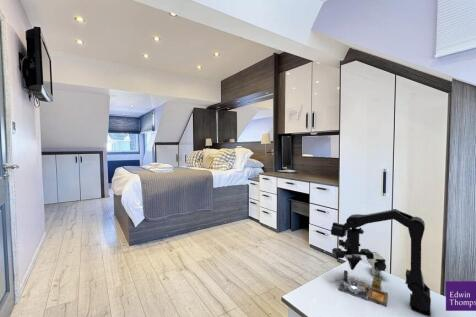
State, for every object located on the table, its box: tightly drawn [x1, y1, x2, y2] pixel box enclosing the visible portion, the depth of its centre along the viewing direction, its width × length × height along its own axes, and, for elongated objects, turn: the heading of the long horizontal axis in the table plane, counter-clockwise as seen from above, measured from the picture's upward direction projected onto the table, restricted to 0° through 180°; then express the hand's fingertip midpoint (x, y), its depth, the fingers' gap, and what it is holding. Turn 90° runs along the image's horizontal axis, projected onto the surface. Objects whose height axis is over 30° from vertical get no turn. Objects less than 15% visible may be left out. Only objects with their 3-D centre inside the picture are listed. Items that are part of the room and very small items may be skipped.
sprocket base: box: [337, 279, 370, 301], centre depth 112 cm, size 12×12×1 cm
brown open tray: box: [366, 286, 389, 307], centre depth 105 cm, size 7×9×2 cm
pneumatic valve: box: [366, 251, 387, 277], centre depth 124 cm, size 6×12×12 cm, turn 174°
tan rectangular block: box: [371, 276, 382, 291], centre depth 113 cm, size 4×5×4 cm
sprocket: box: [339, 270, 369, 295], centre depth 112 cm, size 12×12×6 cm
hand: (351, 269), depth 115 cm, fingers closed
